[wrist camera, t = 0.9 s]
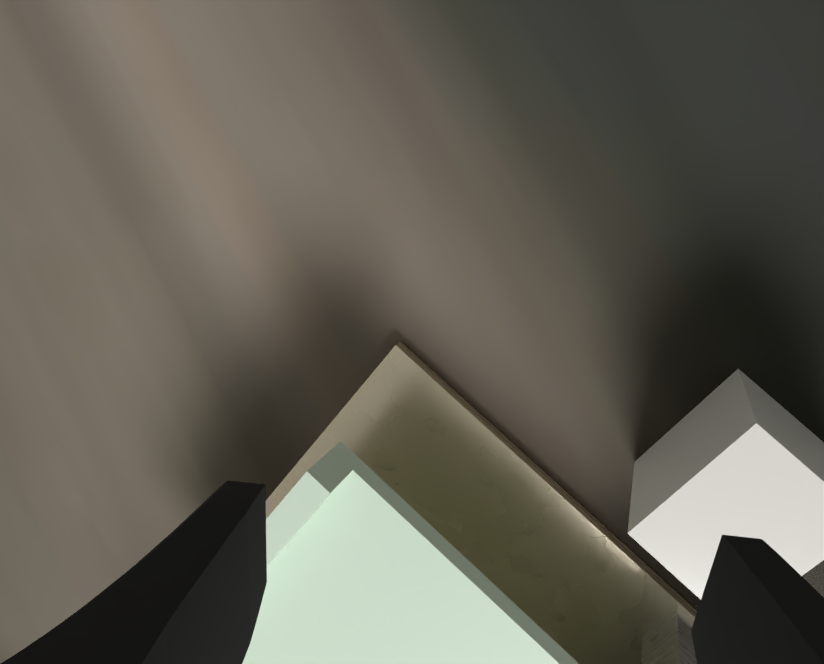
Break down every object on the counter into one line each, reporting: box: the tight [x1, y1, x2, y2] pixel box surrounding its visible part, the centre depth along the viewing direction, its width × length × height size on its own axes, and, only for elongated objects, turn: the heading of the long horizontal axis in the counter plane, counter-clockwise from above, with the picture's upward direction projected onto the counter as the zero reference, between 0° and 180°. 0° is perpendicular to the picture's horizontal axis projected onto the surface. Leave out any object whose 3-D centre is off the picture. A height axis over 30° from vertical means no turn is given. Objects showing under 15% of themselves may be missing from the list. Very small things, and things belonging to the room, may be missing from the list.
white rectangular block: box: [628, 369, 824, 600], centre depth 23 cm, size 4×5×6 cm
